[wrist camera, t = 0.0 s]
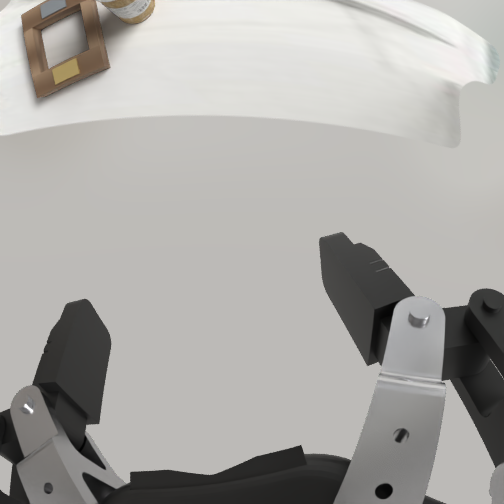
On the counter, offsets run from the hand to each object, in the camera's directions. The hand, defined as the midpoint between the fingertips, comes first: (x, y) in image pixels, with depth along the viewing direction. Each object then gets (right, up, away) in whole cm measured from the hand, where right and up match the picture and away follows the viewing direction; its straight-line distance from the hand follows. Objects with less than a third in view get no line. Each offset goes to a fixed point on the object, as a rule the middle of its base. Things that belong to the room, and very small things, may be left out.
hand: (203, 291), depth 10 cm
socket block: (-20, +26, +15) cm, 36 cm away
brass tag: (-19, +21, +15) cm, 32 cm away
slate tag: (-21, +29, +10) cm, 37 cm away
